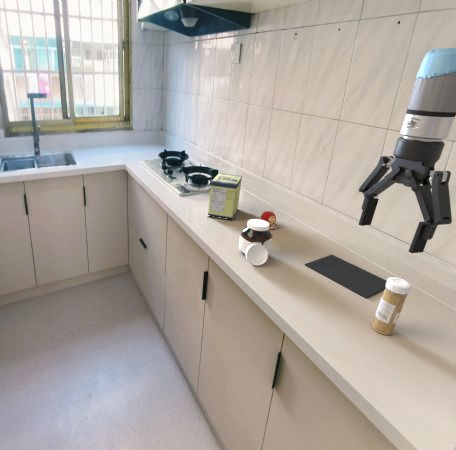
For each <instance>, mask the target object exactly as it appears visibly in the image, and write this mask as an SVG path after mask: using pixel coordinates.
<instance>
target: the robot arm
mask: <svg viewBox="0 0 456 450" xmlns="http://www.w3.org/2000/svg"><path fill="white" fill-rule="evenodd" d="M410 95H411V96H410V99H409V102H408V105H407V110H406V112H405V115H404V118H403V122H402V125H401V128H400V131H399V134H400V135H401V136H400V137H398V138H397V140H396V143H395V146H394V150H393V153H392V155H382V156H380V157H379V160H378V162H377V165H376V166H375V167H374V169H373V170H372V171H371V172H370V174H369V175H368V176H367V177H366V179H365V180H364V181H363V182H362V184H361V185H360V186H359V188H358V192H359V193H361V194H363V201H362V205H361V214H360V218H359V221H358V226H362V227H363V226H371V224H372V223H373V219H374V215H375V212H376V209H377V206H378V203H379V200H380V199H379V198H378V197H379V195H380V194H382V193H383V192H385V191H386V190H387V189H389V188H390V187H391V186H393V185H394V184H399V185H400V184H401V185H403V186H405V187H408V188H410V189H411V191H412V192H413V193H414V194H415V197H416V200H417V203H418V207H419V209H420V212H421V216H422V218H423V221H419V222H418V225H417V227H416V229H415V233H414V235H413V237H412V240H411V243H410V246H409V249H408V253H410V254H418V253H419V254H421V253H424V250H425V248H426V245H427V243H428V241H429V240H432V239H433V238H434V235H435V233H436V230H437V228H438V226H443V225H445V226H446V225H451V224H452V223H453V218H452V217H453V215H452V206H451V197H450V186H449V182H450V180H451V175H452V173H451V171H450V170H435V165H436V164H437V162H438V161H439V160H440V159H441V156H442V155H443V151H444V148H445V146H446V143H445V141H443V140H446V139H448V138H449V135H450V134H451V130H452V127H453V124H454V121H455V118H456V47H441V48H433V49H431V50H429V51H427V52H426V54H425V55H424V57H423V60H422V62H421V64H420V67H419V69H418V71H417V74H416V78H415V82H414V85H413V89H412V92H411V94H410ZM390 169H391V171H390ZM388 171H390V172H388Z"/></svg>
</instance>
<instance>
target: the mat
mask: <svg viewBox="0 0 456 450" xmlns="http://www.w3.org/2000/svg"><path fill="white" fill-rule="evenodd" d="M304 266H305V267H307V268H309V269H311V270H313V271H314V272H316V273H318V274H320V275H321V276H324V277H325V278H327V279H329V280H331V281H333V282H334V283H336V284H339V286H342V287H344V288H346V289H347V290H350V291H352V293H355V294H357V295H359V296H360V297H362V298H364V299H368V298H370V297H372V296H375V295H377V294H378V293H381V292H384V291H385V288H386V282H387V280H388V279H387V280H386V279H385V278H383V277H380V276H378V275H376V274H374V273H373V272H369V271H367V270H366V269H363V268H362V267H360V266H357V265H355V264H353V263H351V262H349V261H347V260H345V259H342V258H341V257H339V256H336V255H334V254H328V255H326V256H323V257H321V258H317V259H314V260H312V261H309V262H307V263H304Z"/></svg>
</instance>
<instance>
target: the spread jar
mask: <svg viewBox="0 0 456 450" xmlns="http://www.w3.org/2000/svg"><path fill="white" fill-rule="evenodd" d="M272 243H273V234H272V232H271V229H269V223H268V222H267V221H264V220H261V218H251V219H248V220H247V224H246V227H244V228H243V229H242V231H241V232H240V235H239V240H238V250H239V251H240V253H241V254H242V255H243V256H244V257H245V259H246V261H247V262H248V263H250V264H251V265H252V266H257V267H258V266H262V265H264V264H265V263H266V262H267V261H268V258H269V253H270V251H271V248H272Z"/></svg>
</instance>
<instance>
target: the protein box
mask: <svg viewBox="0 0 456 450" xmlns="http://www.w3.org/2000/svg"><path fill="white" fill-rule="evenodd" d="M242 180H243V176H242V175H235V174H228V173H222V172H221V173H220V172H219V173H218V174H217V175H216V176H214V178H213V179H212V181H210V189H209V191H210V192H209V201H208V211H207V213H208V214H207V216H208V215H210V216H214V217H221V218H227V219H232V218H233V219H234V217H235V215H236V213H237V211H238V209H237V208H239V202H240V193H241V187H242ZM236 210H237V211H236ZM235 212H236V213H235ZM234 214H235V215H234ZM233 216H234V217H233ZM214 217H213V218H214ZM233 219H232V220H233Z"/></svg>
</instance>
